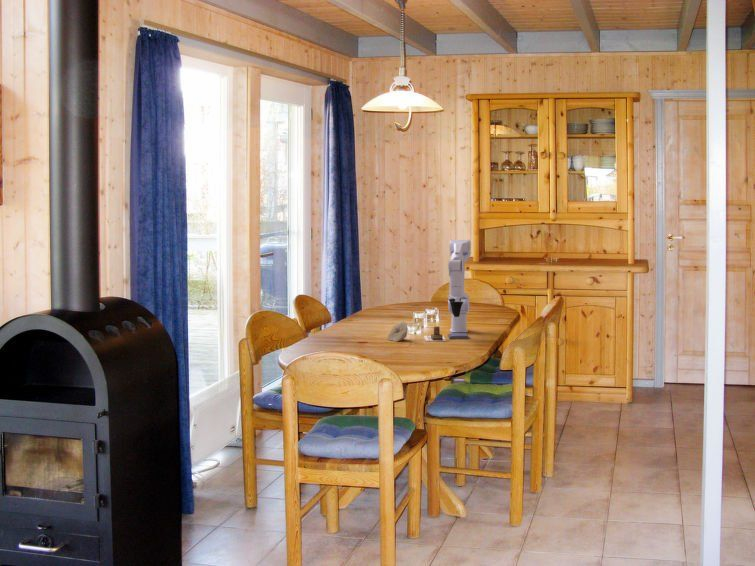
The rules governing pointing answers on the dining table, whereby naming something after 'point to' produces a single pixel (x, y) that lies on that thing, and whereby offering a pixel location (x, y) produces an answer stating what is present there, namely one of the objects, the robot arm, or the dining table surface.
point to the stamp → (436, 334)
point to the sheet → (428, 338)
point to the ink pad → (458, 336)
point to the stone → (398, 332)
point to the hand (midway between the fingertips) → (455, 315)
